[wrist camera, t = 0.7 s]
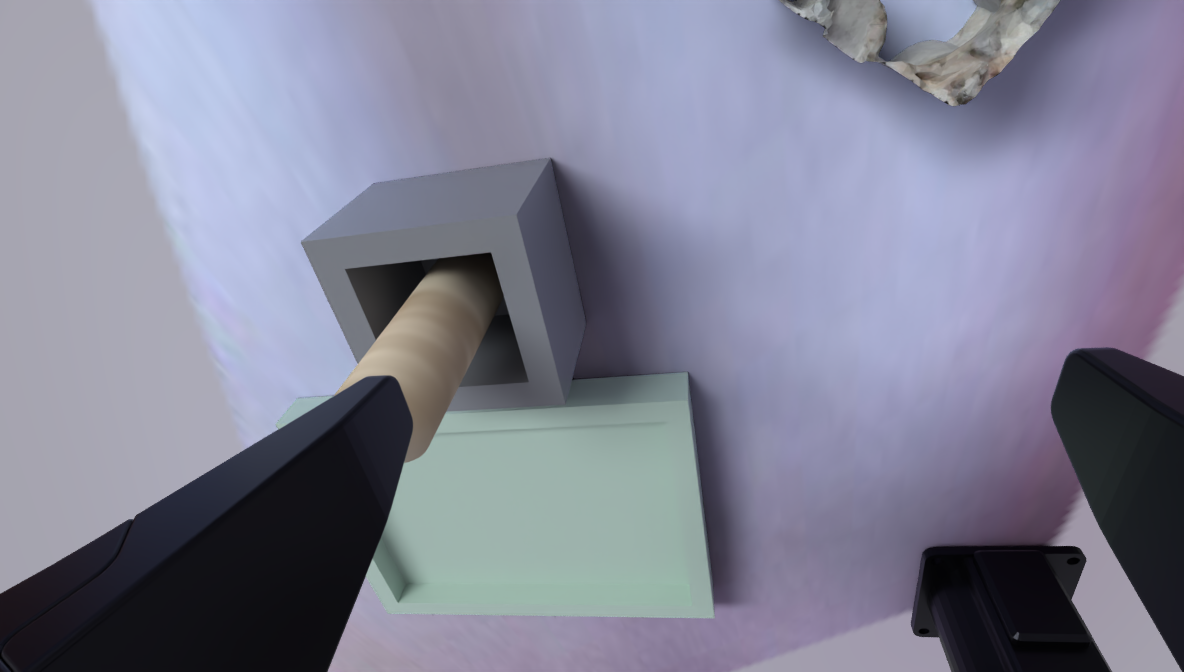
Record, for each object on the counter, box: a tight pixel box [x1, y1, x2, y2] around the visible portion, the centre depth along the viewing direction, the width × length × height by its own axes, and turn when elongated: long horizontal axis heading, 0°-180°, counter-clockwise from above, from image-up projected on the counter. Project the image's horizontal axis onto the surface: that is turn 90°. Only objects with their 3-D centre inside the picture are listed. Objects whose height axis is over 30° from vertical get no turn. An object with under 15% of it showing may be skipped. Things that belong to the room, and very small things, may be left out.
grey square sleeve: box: [301, 158, 586, 412], centre depth 21 cm, size 7×7×5 cm
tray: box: [276, 372, 715, 618], centre depth 29 cm, size 14×18×2 cm
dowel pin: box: [334, 252, 504, 463], centre depth 19 cm, size 3×3×9 cm
